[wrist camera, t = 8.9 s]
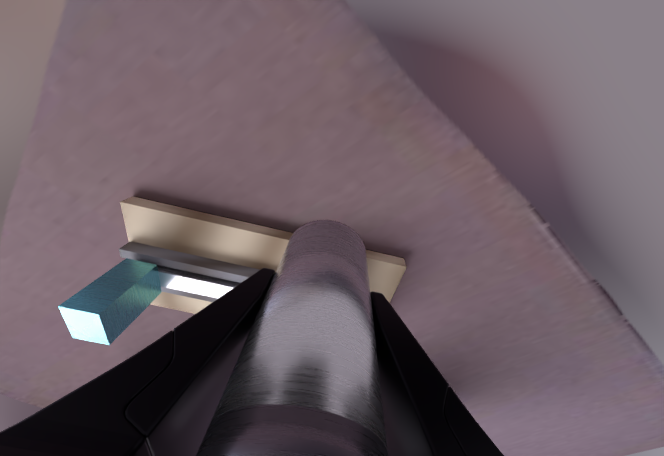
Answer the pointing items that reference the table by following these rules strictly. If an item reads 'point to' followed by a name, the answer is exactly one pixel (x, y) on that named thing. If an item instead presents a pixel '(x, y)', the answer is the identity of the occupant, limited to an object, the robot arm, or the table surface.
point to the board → (219, 249)
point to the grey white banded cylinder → (307, 359)
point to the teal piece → (129, 297)
